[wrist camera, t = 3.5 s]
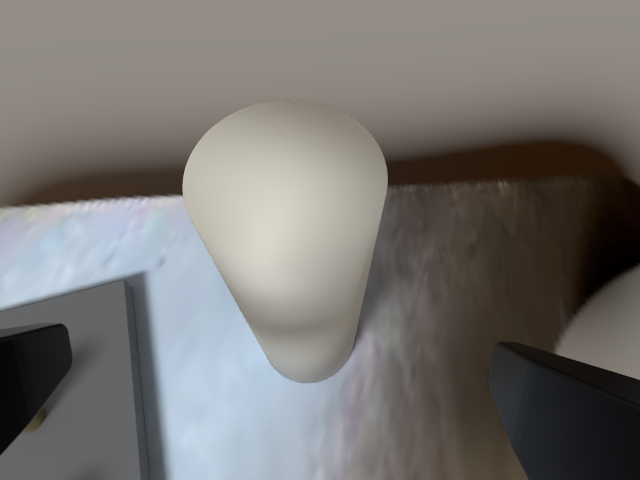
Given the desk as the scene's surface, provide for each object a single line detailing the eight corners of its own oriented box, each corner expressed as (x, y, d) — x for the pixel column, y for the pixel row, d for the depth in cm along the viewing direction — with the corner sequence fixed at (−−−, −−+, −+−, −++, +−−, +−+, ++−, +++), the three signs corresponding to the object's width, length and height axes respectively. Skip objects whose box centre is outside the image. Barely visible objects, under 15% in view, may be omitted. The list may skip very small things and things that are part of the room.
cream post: (366, 367, 20) (419, 233, 9) (274, 395, 20) (199, 294, 8) (338, 282, 22) (350, 82, 11) (253, 306, 22) (170, 123, 10)
